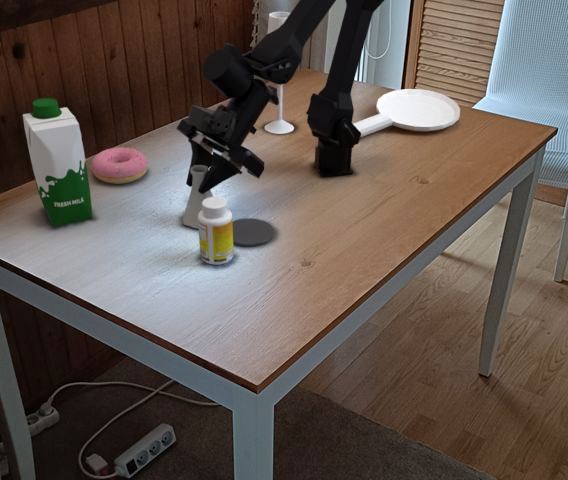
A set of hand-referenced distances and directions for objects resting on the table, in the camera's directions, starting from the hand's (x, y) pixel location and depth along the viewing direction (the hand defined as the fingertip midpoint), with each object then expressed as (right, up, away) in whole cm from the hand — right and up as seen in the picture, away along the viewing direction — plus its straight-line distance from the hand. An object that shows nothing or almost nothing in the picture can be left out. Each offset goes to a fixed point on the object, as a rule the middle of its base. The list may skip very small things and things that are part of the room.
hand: (194, 189), depth 129 cm
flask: (+1, -5, +5) cm, 7 cm away
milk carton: (-24, -4, +6) cm, 24 cm away
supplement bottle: (+4, -13, -5) cm, 14 cm away
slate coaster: (+9, -8, +1) cm, 12 cm away
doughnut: (-17, +7, +19) cm, 26 cm away
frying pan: (+40, +22, +39) cm, 60 cm away
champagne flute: (+15, +22, +38) cm, 46 cm away
